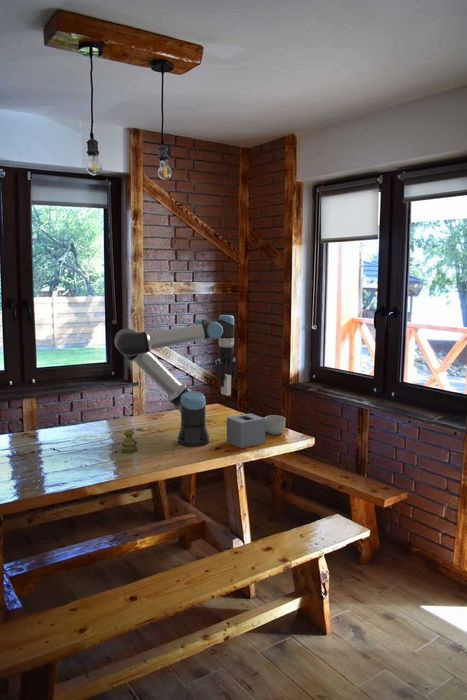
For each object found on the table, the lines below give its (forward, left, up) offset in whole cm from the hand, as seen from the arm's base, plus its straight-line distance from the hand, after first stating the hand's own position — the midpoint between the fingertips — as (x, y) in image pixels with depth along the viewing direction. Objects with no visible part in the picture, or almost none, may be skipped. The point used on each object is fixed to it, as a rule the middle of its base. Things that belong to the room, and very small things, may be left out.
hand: (225, 392), depth 292 cm
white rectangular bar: (0, 0, -1) cm, 1 cm away
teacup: (+23, -2, -21) cm, 31 cm away
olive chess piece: (-43, -32, -21) cm, 58 cm away
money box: (+10, -18, -20) cm, 29 cm away
